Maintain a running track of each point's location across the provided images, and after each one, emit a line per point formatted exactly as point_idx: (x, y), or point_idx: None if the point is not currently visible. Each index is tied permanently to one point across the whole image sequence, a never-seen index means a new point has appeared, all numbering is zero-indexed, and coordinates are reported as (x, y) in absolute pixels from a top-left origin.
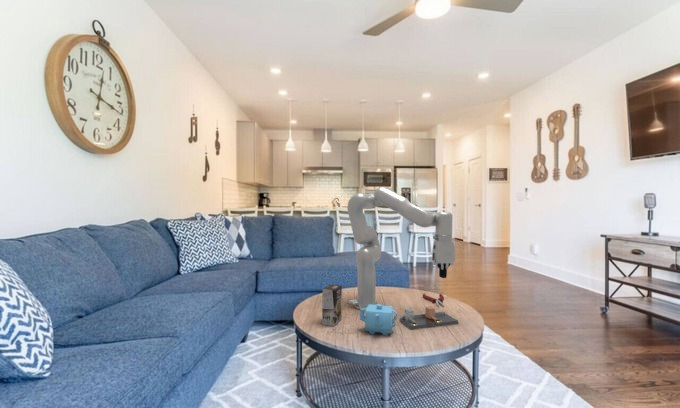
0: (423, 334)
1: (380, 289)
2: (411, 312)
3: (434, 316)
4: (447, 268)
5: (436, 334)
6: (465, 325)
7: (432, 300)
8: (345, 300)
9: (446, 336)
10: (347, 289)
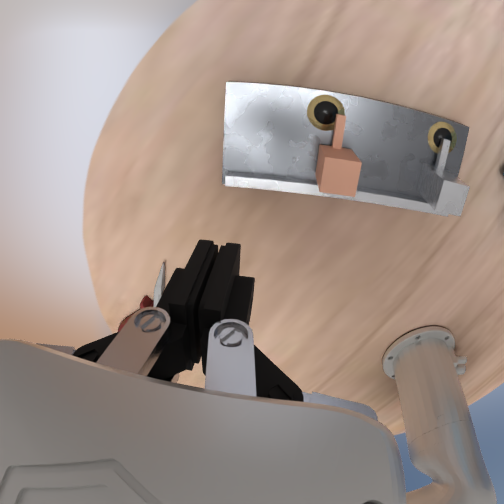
0: (448, 65)
1: None
2: (450, 179)
3: (322, 146)
4: (141, 316)
5: (404, 36)
6: (209, 57)
7: None
8: None
9: (378, 3)
10: None
